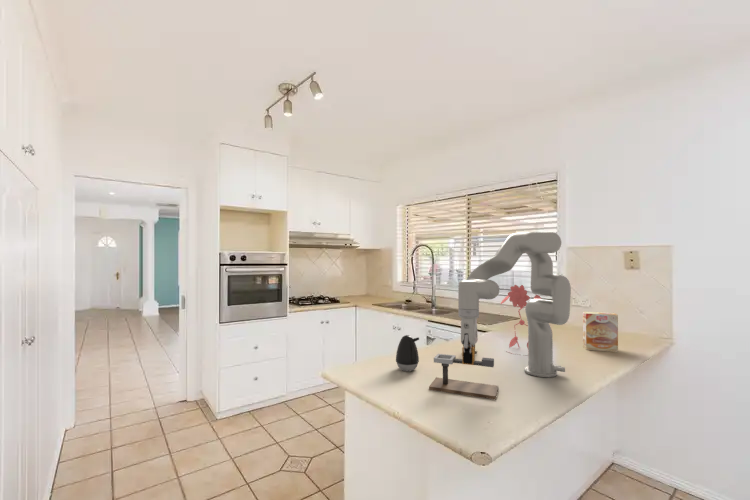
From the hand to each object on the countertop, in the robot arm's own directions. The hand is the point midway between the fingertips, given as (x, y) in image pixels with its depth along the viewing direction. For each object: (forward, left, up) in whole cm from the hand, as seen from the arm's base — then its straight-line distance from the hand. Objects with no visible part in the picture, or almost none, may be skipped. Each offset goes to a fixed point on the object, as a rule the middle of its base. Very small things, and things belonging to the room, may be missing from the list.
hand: (468, 361), depth 135 cm
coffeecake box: (-55, -86, -11) cm, 103 cm away
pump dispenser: (+29, -14, -11) cm, 34 cm away
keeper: (+2, 0, -11) cm, 11 cm away
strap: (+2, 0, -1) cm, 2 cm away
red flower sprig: (-15, -66, -11) cm, 69 cm away
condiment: (+8, -52, -11) cm, 54 cm away
